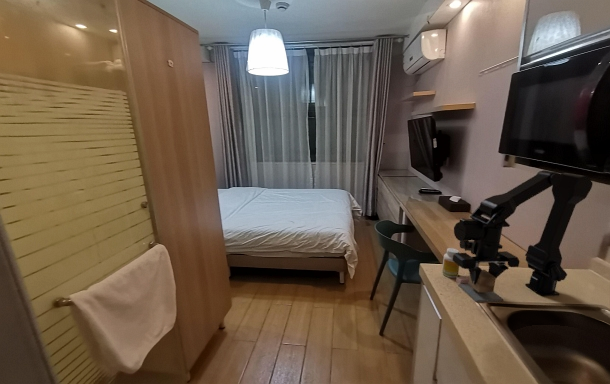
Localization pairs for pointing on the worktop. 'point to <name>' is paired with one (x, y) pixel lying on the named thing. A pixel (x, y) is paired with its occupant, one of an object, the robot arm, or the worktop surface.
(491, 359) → the worktop surface
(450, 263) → the supplement bottle
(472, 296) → the slate trivet
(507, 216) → the robot arm
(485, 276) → the walnut block
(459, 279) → the pink eraser
